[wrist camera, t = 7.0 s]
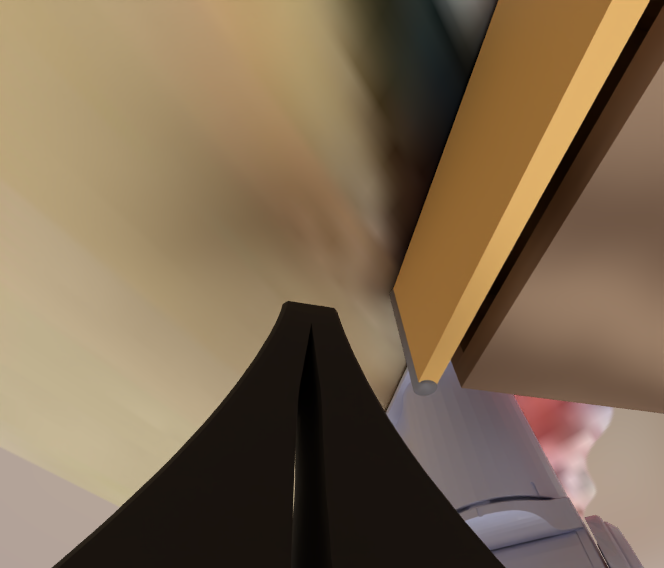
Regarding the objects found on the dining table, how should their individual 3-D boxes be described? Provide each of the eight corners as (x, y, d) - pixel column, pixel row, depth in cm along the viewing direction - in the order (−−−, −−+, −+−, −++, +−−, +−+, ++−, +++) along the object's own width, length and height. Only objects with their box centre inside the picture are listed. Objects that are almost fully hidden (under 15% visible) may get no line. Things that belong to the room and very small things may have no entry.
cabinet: (578, 314, 21) (671, 414, 16) (423, 289, 20) (461, 387, 14) (788, 40, 14) (1123, 40, 8) (556, -27, 12) (753, -85, 7)
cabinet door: (404, 302, 20) (432, 397, 15) (387, 299, 20) (409, 394, 15) (536, -31, 12) (704, -90, 7) (509, -39, 12) (659, -105, 7)
